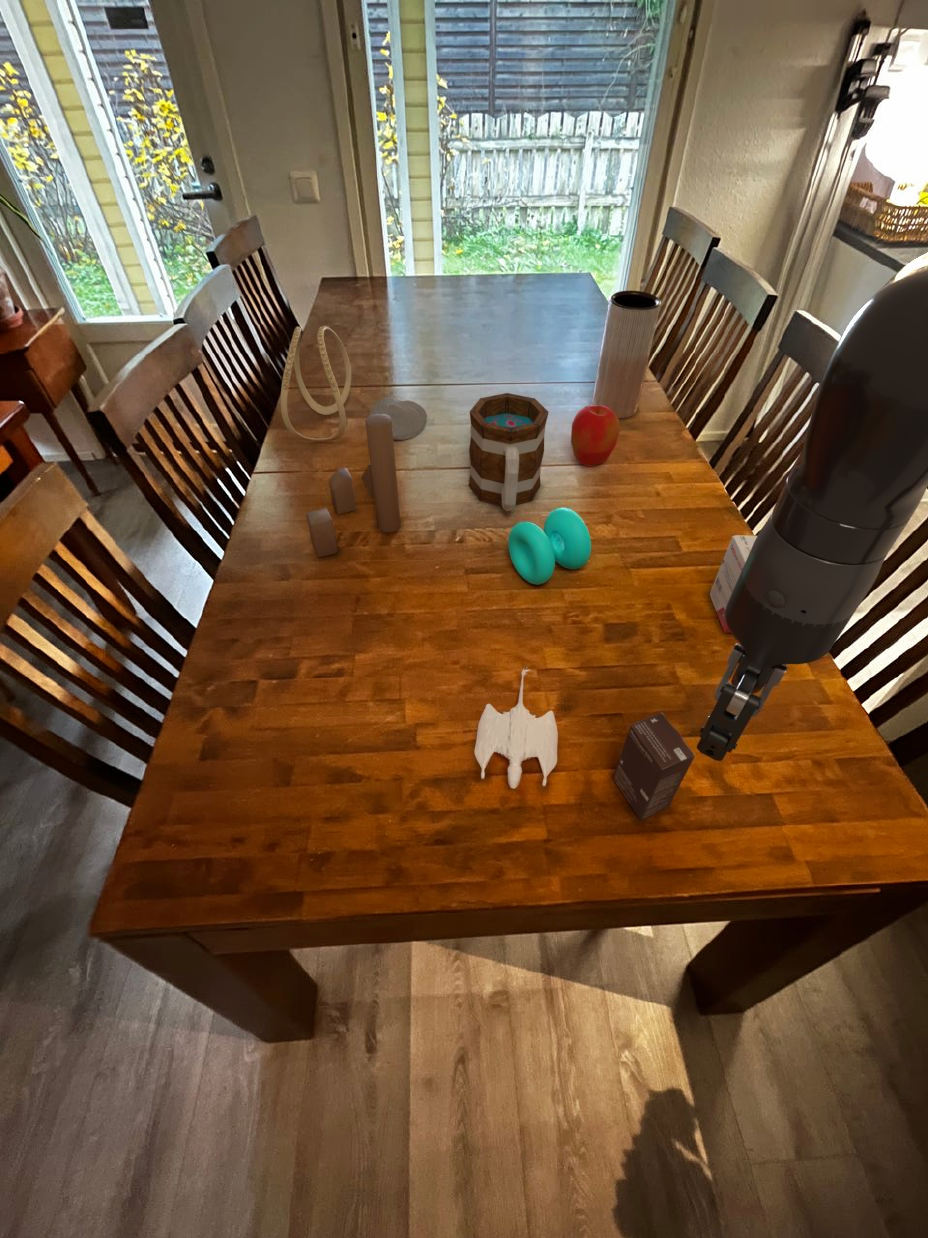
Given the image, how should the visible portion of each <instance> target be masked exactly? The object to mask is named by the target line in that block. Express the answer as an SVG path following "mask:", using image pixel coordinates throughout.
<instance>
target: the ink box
mask: <svg viewBox="0 0 928 1238" xmlns="http://www.w3.org/2000/svg"><path fill="white" fill-rule="evenodd" d="M757 536H758V535H749V534H748V535H747V534H745V535H743V534H742V535H741V534H734V535H733V534H732V536H731V539H730V541H729V544H728V546H727V549H726V552H725V554H724V556H723V559H722V562H721V564H720V567H719V569H718V572H717V574H716V577H715V580H714V582H713V584H712V586H711V589H710V592H709V597H710V600H711V603H712V605H713V607H714V609H715V612H716V615H717V618H718V620H719V623H720V625H721V628H722V630H723V632H724V633H727V634H732V633H731V632H730V630H729V628H728V626H727V623H726V619H725V609H726V606H727V603H728V601H729V599H730V596H731V594H732V592H733V589H734V587H735V585H736V583H737V580H738V578H739V576H740V574H741V571H742V569H743V567H744V565H745V562H746V560H747V558H748V556H749V553H750V551H751V549H752V546H753V544H754V542H755V540H756V538H757Z"/></svg>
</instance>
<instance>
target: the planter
mask: <svg viewBox="0 0 928 1238" xmlns="http://www.w3.org/2000/svg"><path fill="white" fill-rule="evenodd" d="M661 305H662V301H661V299H660V298H659V297H658V296H656V295H655V294H652V293H649V292H646V291H641V290H620V291H616V292H614V293H612V294H610V296H609V298H608V301H607V307H606V308H607V309H606V315H605V321H604V327H603V333H602V339H601V345H600V351H599V358H598V362H597V370H596V375H595V380H594V381H595V382H594V386H593V387H594V388H593V393H592V400H591V405H602V406H607V407H608V408H610V409H611V410H612V411H613V412H614V413H615V414H616V415H617V417H618V419H627V418H630V417H632V416H634V415H635V414H636V413H637V410H638V408H639V404H640V400H641V396H642V395H641V394H642V390H643V386H644V382H645V377H646V373H647V368H648V365H649V364H648V363H649V359H650V355H651V350H652V346H653V341H654V338H655V333H656V328H657V323H658V319H659V315H660V309H661Z"/></svg>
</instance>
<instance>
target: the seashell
mask: <svg viewBox="0 0 928 1238" xmlns="http://www.w3.org/2000/svg"><path fill="white" fill-rule="evenodd" d="M373 414H386V415H388V416H390V417H391V419H392V428H393V440H394V441H405V440H410V439H412V438H414V437H417V435H419V434H420V433H421V432H422V431H423V429H424V428H425V427H426V425H427V421H428V420H427V419H428V414H427V411H426V409H425V408H424V407H423V406H422V405H420V404H418V403H417V402H415V401H412V400H403V399H399V398H395V397H392V396H390V397H384V398H381V399H378V400H377V401H376V402H375V403H374V404H373V405H372V407H371V408H370V410H369V416H370V415H373Z"/></svg>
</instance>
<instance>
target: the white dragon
mask: <svg viewBox="0 0 928 1238" xmlns="http://www.w3.org/2000/svg"><path fill="white" fill-rule="evenodd" d="M527 668H528V667H526V668H525V665H524V667H523V669H522V670H521V673H520V675H521V681H520V688H519V695H518V701H517V703H516V705H515V706H514V707H512V708H510V710H509V711H502V712H499V711H497V709H495V707H493V705H492V704H491V703H487V704H486V705H485V707H484V710H483V711H482V713H481V716H480V718H479V721H478V725H477V730H476V740H475V744H474V751H473V753H474V756H475V759H476V761H477V763H478V764H479V766H480V768H481V773H480V778H481V780H484V779H485V776H486V773H485V769H486V767H487V766H488V764H489V762H490V760H491V758H492V756H493V755H494V754H495V753H498V755H499V754H500V755H501V756H503V757H505V759H507V760H508V763H509V765H508V767H507V784H508V786H509V787H510V789H516V788H517V787H518V786H519V784H520V781H521V779H522V778H521V777H522V774H523V769H522V768H523V767H522V764H523V761H526V760H530V759H531V758H537V760H538V763H539V765H540V769H541V771H542V775H543V778H542V787H546V785H547V777H548V776H549V774H550V773H551V772H552V771H553V769H554V768H555V767H556V766H557V763H558V744H559V743H558V741H559V732H558V726H557V721H556V717H555V714H554V711H552V710H549V711H547V712H546V713H545V714H543V715H541V716H539V717H536V716H537V714H532V713H530V710H529V709H528V708H526V707H525V704H524V703H523V702H524V701H523V699H524V677H525V676H526V675H528V672H530V671H532V669H527Z"/></svg>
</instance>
